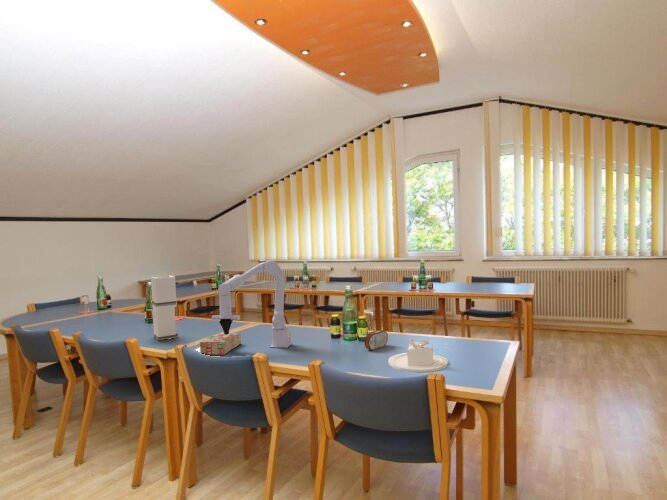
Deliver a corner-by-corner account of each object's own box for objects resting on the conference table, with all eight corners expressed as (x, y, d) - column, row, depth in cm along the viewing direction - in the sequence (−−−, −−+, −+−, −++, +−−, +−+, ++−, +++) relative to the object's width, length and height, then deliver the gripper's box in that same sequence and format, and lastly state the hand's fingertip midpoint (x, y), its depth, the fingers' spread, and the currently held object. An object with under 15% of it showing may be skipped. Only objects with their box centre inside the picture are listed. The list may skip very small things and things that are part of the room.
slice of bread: (384, 344, 214) (383, 328, 213) (389, 345, 211) (388, 328, 211) (364, 351, 203) (363, 333, 203) (369, 352, 201) (368, 334, 201)
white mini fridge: (178, 337, 244) (175, 276, 243) (158, 341, 238) (155, 278, 237) (173, 334, 253) (170, 275, 252) (154, 337, 247) (150, 277, 246)
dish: (456, 370, 171) (456, 342, 171) (395, 374, 169) (394, 346, 169) (437, 353, 196) (436, 329, 195) (383, 356, 194) (382, 332, 193)
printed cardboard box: (241, 343, 225) (220, 343, 227) (241, 331, 224) (219, 331, 227) (223, 354, 204) (199, 354, 206) (223, 341, 204) (199, 341, 206)
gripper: (208, 308, 211) (209, 335, 212) (235, 308, 208) (236, 336, 208) (215, 306, 218) (216, 332, 218) (241, 306, 215) (242, 332, 215)
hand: (226, 334), depth 214 cm, fingers closed
